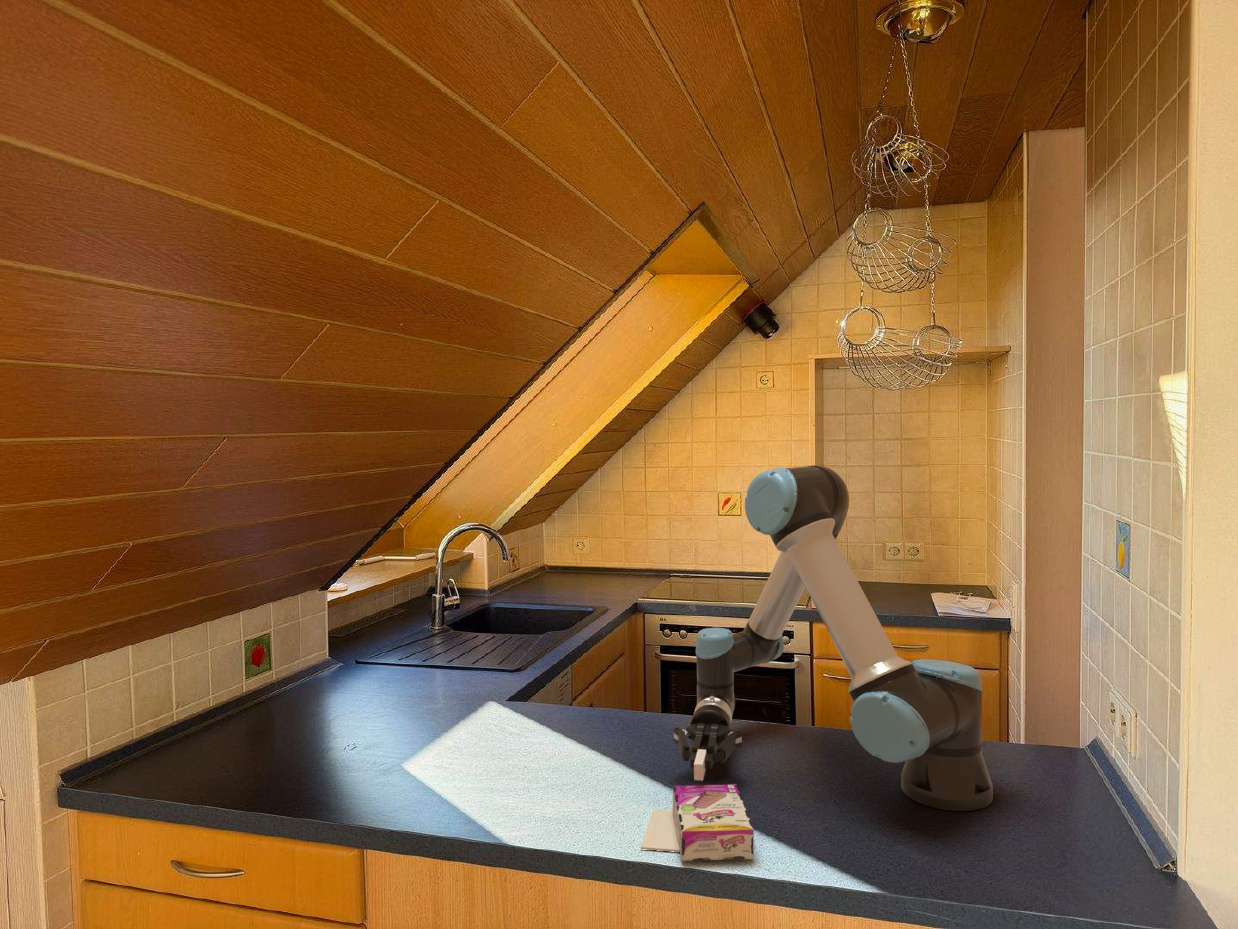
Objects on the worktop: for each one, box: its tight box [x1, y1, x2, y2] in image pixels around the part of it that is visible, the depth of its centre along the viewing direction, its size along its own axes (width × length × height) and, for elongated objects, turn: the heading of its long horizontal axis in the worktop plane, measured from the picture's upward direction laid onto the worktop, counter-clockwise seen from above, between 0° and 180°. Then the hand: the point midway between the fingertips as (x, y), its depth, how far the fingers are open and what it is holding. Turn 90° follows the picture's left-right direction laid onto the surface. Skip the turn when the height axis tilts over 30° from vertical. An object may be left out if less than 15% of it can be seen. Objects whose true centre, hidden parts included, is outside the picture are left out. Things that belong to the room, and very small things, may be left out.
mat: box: [640, 808, 680, 852], centre depth 136 cm, size 13×16×1 cm
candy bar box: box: [672, 783, 755, 862], centre depth 135 cm, size 11×5×16 cm
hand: (698, 772), depth 141 cm, fingers closed
